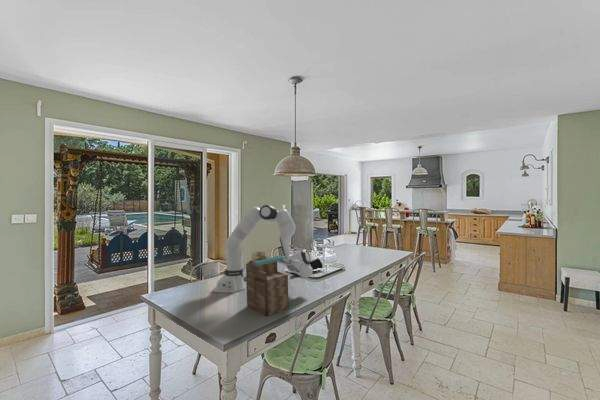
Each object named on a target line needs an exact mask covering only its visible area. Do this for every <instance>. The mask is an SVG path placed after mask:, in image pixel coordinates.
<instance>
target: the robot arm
mask: <svg viewBox="0 0 600 400" xmlns="http://www.w3.org/2000/svg"><path fill="white" fill-rule="evenodd" d="M261 220H264V221H267V222H274V221H275V222H276V223H277V225H278V227H279V230H280V231H279V232H280V235H279V241H280V247H281V250H282V253H283V256H287V259H286V258H284V257H282V261H277V264H278V263H279V264H281V265H283V266H285V267H286V268H287V270H288V271H290V272H291V273H292V272H293V273H296V274H298V275H297V276H300V277H301V278H307V279H308V278H309V277H311V276H312V275H313V273H314V272H313V269H312V267H311V266H310V262H311V256H310V253H309V252H308V251H306V250H305V249H301V250H299V251H297V252H295V253H292V250H291V248H290V240H291V239H292V237H293V236H294V235H295V232H296V229H297V226H296V223H295V222H294V219H293V217H292V216H291V214H290V213H289V211H288V210H287V209H285V208H284V209H283V208H282V209H279V210H277V209H276V207H275V206H273V205H270V204H265V205H262V206H260V208H259V207H258V206H253V207H251V208H250V209H249V210H247V211H246V213H245V214H244V216H242V218H241V220H240V221H239V222H238V224H237V225H236V226H235V228H234V229H233V231H232V232H231V234H230V235H228V237H227V239H226V240H225V243H224V244H225V254H226V255H225V256H226V268H225V269H224V270H223V273H224V275H222V276H221V277H220V278H219V279H218V280H217V282H216V285H215V286H214V288H213V289H212V291H213V293H230V294H232V293H236V292H240V291H243V290H244V289H247V286H246V284H245V281H244V280H245V279H244V276H245V274H244V272H245V271H244V268H243V266H244V265H243V262H244V261H243V251H242V250H243V248H242V247H243V246H242V245H243V244H244V242H245V241H246V240H247V239H248V237H249V236H250V234H251V233H252V232H253V231H254V229H255V227H256V226H257V225H258V223H259V222H260V221H261ZM277 256H278V255H275V257H277Z"/></svg>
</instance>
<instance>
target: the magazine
mask: <svg viewBox="0 0 600 400" xmlns="http://www.w3.org/2000/svg"><path fill="white" fill-rule="evenodd" d="M310 266H311V267H312V269H313V270H314V269H317V268H321V269H323V268H324V266H323V263H322V261H321V259H320V258H319V257H317V258H316V259H314V260H310ZM322 267H323V268H322ZM291 275H292V276H296V275H297V276H299V275H298V274H296V273H293V272H291Z"/></svg>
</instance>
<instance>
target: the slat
mask: <svg viewBox="0 0 600 400" xmlns="http://www.w3.org/2000/svg"><path fill="white" fill-rule="evenodd" d="M276 256H277V257H276ZM276 256H273V257H268V258H267V259H263V260H258V261H254V265H257V266H259V265H263V264H268V263H273V262H277V261H282V257H284V258H286V259H287V256H284V254H283V255H276ZM277 263H278V262H277Z"/></svg>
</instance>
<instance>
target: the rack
mask: <svg viewBox="0 0 600 400" xmlns="http://www.w3.org/2000/svg"><path fill="white" fill-rule="evenodd" d="M263 259H267V256H266V251H260V250H259V251H255V252H251V260H252V263H246V264H245V268H246V269H245V274H246V275H245V276H246V307H248V308H249V309H251V310H253V311H256V312H257V313H259V314H261V315H263V316H265V317H268V316H270V315H273V314H277V313H279V312H282V311H284V310H288V309H289V305H290V304H289V274H287V273H284V272H281V271H278V262H273V263H268V264H263V265H259V266H257V265H254V261H258V260H263Z"/></svg>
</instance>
